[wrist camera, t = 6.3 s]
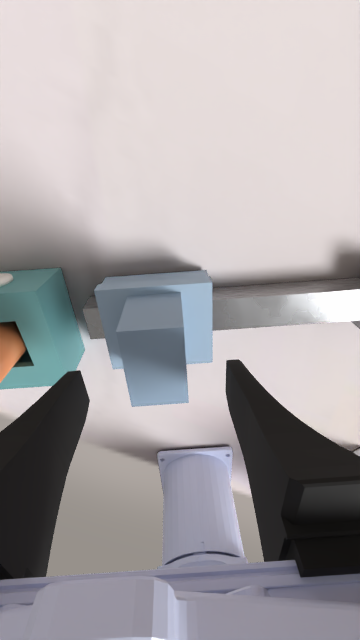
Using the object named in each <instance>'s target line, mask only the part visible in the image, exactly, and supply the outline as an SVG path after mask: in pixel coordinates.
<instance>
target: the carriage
mask: <svg viewBox="0 0 360 640" xmlns="http://www.w3.org/2000/svg"><path fill="white" fill-rule="evenodd" d="M94 293H95V297H96V301H97V305H98V309H99V314H100V318H101V322H102V326H103V330H104V334H105V339H106V343H107V347H108V351H109V355H110V359H111V364H112V368H113V369H124V372H125V377H126V381H127V386H128V391H129V395H130V400H131V405H132V407H135V406H149V405H163V404H178V403H189V401H188V385H187V369H186V364H196V363H210V362H212V280H211V277H210V276H208V273H207V270H200V271H186V272H172V273H158V274H143V275H129V276H115V277H105V279H104V281H103V282H102V284H98V285H97V286H96V288H95V290H94Z"/></svg>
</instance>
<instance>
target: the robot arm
mask: <svg viewBox="0 0 360 640" xmlns="http://www.w3.org/2000/svg"><path fill="white" fill-rule="evenodd" d="M226 396H227V402H228V407H229V411H230V415H231V418H232V421H233V424H234V428H235V431H236V434H237V437H238V440H239V443H240V447H241V450H242V453H243V457H244V460H245V465H246V469H247V474H248V479H249V483H250V488H251V493H252V498H253V503H254V508H255V513H256V518H257V524H258V529H259V535H260V540H261V546H262V551H263V557H264V562H256V563H248V561H247V558H246V557H244V551H243V546H242V541H241V536H240V530H239V525H238V520H237V515H236V510H235V504H234V499H233V494H232V489H231V472H232V455H233V451H232V448H231V447H214V448H199V449H185V450H170V451H160V452H158V454H157V458H158V464H159V470H160V476H161V482H162V488H163V494H164V502H163V504H164V505H163V559H162V566H159V567H157V569H153V570H139V571H124V572H109V573H94V574H81V575H65V576H51V577H46V573H47V567H48V561H49V556H50V550H51V544H52V539H53V534H54V529H55V524H56V519H57V515H58V510H59V505H60V501H61V497H62V492H63V488H64V485H65V480H66V476H67V473H68V469H69V466H70V463H71V460H72V458H73V455H74V452H75V449H76V446H77V444H78V441H79V438H80V435H81V432H82V429H83V426H84V424H85V421H86V416H87V412H88V407H89V402H90V400H89V397H88V394H87V391H86V387H85V384H84V381H83V378H82V375H81V371H68V372H67V373H66V374H64V375H63V376H62V377H61V378H60V379H59V380H58V381H57V382H56V383H55V384H54V385H53V386H52V387H51V388H50V389H49V390H48V391H47V392H46V393H45V394H44V395H43V396H42V397H41V398H40V399H39V400H38V401H37V402H35V403H34V404H33V405H32V406H31V407H30V408H29V409H28V410H26V411H25V412H24V413H23V414H22V415H21V416H20V417H19V418H17V419H16V420H15V421H14V422H12V423H11V424H10V425H9V426H7V427H6V428H5V429H4V430H2V431H1V432H0V640H360V456H358V455H356V454H354V453H352V452H350V451H348V450H347V449H345V448H343V447H341V446H339V445H337V444H336V443H334V442H332V441H331V440H329V439H327V438H326V437H324V436H323V435H321V434H319V433H318V432H316V431H315V430H314V429H312V428H311V427H309V426H308V425H306V424H305V423H303V422H302V421H301V420H299V419H298V418H297V417H295V416H294V415H293V414H292V413H290V412H289V411H288V410H287V409H286V408H284V407H283V406H282V405H281V404H280V403H279V402H278V401H277V400H276V399H275V398H273V397H272V396H271V395H270V394H269V393H268V392H267V391H266V390H265V389H264V387H263V386H262V385H261V384H260V383H259V382H258V381H257V380H256V379H255V378H254V377H253V375H252V374H251V373H250V372H249V371H248V369H247V368H246V367H245V366H244V364H243V363H242V362H241V361H240V360H227V362H226Z"/></svg>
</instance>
